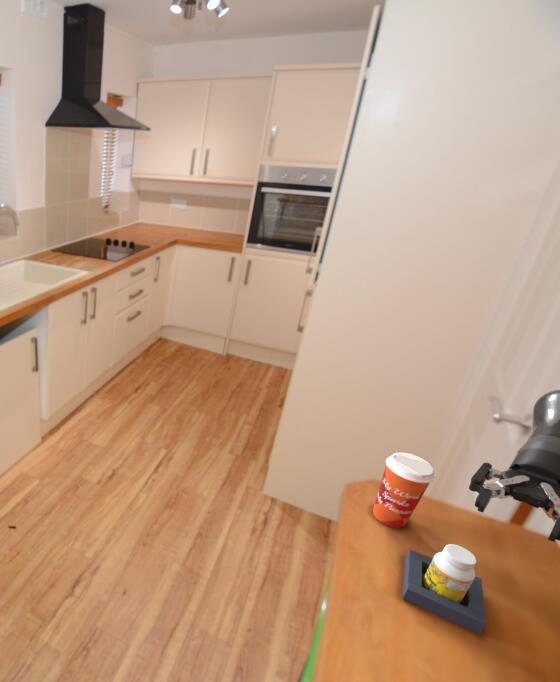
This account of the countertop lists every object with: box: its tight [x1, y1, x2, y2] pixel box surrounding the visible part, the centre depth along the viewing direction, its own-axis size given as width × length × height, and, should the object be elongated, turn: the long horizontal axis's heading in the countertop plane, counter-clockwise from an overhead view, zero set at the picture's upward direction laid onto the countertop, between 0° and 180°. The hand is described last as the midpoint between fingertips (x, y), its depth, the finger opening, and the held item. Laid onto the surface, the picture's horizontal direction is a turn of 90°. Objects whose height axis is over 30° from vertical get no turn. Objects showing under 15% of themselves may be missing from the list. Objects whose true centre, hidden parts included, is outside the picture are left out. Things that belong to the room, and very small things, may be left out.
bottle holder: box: [402, 549, 487, 635], centre depth 78 cm, size 10×10×2 cm
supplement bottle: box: [422, 543, 477, 604], centre depth 76 cm, size 5×5×10 cm
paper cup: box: [372, 451, 437, 529], centre depth 90 cm, size 8×8×14 cm
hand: (514, 522), depth 75 cm, fingers open, 8 cm apart
